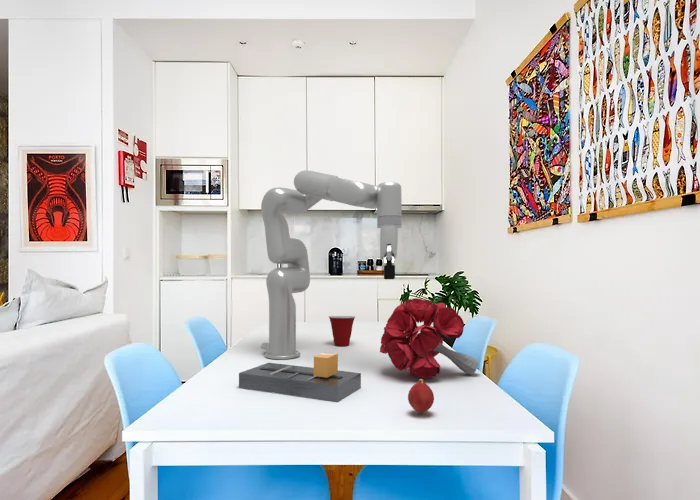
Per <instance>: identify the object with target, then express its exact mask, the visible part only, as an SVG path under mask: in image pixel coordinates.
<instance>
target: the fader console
mask: <svg viewBox="0 0 700 500" xmlns="http://www.w3.org/2000/svg"><path fill="white" fill-rule="evenodd" d="M361 377H362V373H361V372H356V371H355V372H354V371H345V370H338V373H336V374H334V375H332V376H330V377H328V378H326V377H318V376H314V367H311V366H309V367H308V366H304V365H303V366H301V365H295V364H294V365H291V364H282V363H275V362H267V363H264V364H261V365H258V366H255V367H252V368H250V369H245V370H244V371H240V372H239V373H238V388H239V389H243V390H251V389H252V390H253V391H259V392H266V393H272V394H279V395H288V396H292V397H299V398H300V397H302V398H307V399H315V400H322V401H329V402H334V403H335V402H336V403H338V402H340V401H342V400H344V399H345V398H347V397H349V396H350V395H351V394H353V393H355V392H357V391H358V390H359V389H361V388H362V378H361ZM252 390H251V391H252Z"/></svg>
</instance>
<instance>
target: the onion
mask: <svg viewBox="0 0 700 500" xmlns="http://www.w3.org/2000/svg"><path fill="white" fill-rule="evenodd" d="M434 400H435V396H434V392H433V389H432V388H431V387H430V386H429V385H428V384H427V383H425V381H424V379H422V378H420V379H418V381H417V382H416V383H415V384H413V385H412V386H411V387H410V389H409V391H408V395H407V401H408V403H409V405H410V407H411V408H412V409H414V411H416V413H417V414H419V415H424V414H425V413H426V412H427V411H429V410H430V409H431V408H432V406H433V404H434V402H435V401H434Z"/></svg>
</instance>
